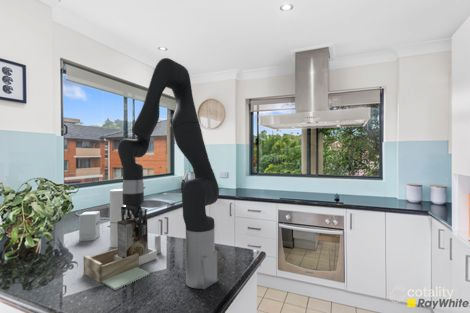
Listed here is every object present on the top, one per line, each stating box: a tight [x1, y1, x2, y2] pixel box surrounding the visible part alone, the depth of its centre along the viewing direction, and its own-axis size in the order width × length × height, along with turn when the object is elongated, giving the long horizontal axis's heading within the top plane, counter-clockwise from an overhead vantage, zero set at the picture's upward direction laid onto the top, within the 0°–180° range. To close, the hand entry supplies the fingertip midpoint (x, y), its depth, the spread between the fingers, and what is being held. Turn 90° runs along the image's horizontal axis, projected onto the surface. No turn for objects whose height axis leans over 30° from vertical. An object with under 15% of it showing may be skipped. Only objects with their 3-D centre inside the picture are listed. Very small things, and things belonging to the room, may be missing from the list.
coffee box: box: [117, 217, 149, 258], centre depth 95 cm, size 9×6×16 cm
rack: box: [83, 247, 140, 284], centre depth 88 cm, size 12×14×6 cm
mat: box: [102, 267, 151, 291], centre depth 82 cm, size 8×12×1 cm, turn 143°
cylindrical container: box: [109, 188, 126, 248], centre depth 114 cm, size 7×7×25 cm
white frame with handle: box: [114, 234, 162, 266], centre depth 98 cm, size 9×17×7 cm, turn 143°
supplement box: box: [78, 210, 101, 242], centre depth 123 cm, size 7×7×13 cm
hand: (133, 234), depth 95 cm, fingers closed on coffee box, 6 cm apart
